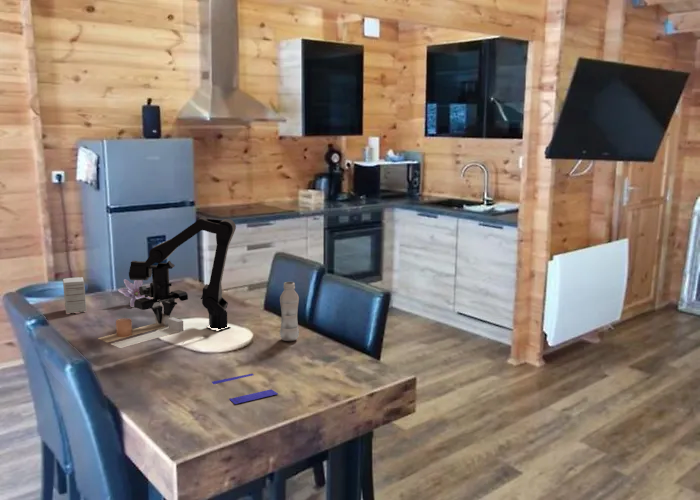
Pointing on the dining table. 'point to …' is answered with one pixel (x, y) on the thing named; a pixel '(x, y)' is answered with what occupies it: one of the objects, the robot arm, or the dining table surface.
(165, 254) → the robot arm
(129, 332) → the rounded peach dome
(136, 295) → the water lily
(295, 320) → the plastic bottle
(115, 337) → the birch strip
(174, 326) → the grey strip
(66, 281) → the miniature chest of drawers
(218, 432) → the dining table surface
